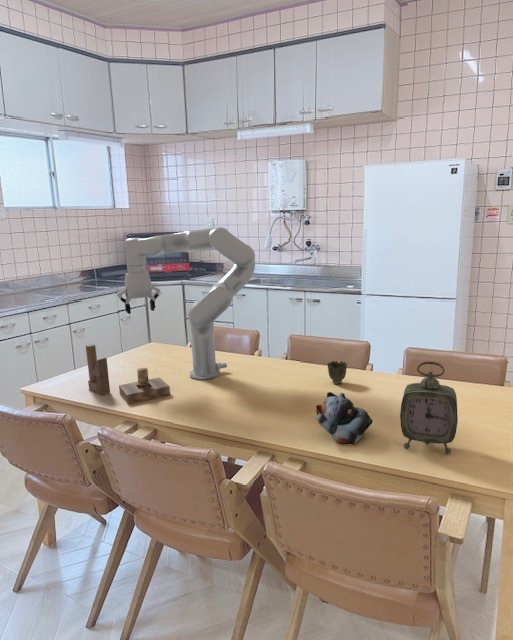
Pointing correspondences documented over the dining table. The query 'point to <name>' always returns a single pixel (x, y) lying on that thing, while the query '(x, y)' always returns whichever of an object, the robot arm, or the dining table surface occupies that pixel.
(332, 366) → the cup
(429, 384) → the tabletop clock
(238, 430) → the dining table surface
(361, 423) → the lucky cat figurine
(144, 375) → the peg
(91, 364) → the brown jointed angular part
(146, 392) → the board
